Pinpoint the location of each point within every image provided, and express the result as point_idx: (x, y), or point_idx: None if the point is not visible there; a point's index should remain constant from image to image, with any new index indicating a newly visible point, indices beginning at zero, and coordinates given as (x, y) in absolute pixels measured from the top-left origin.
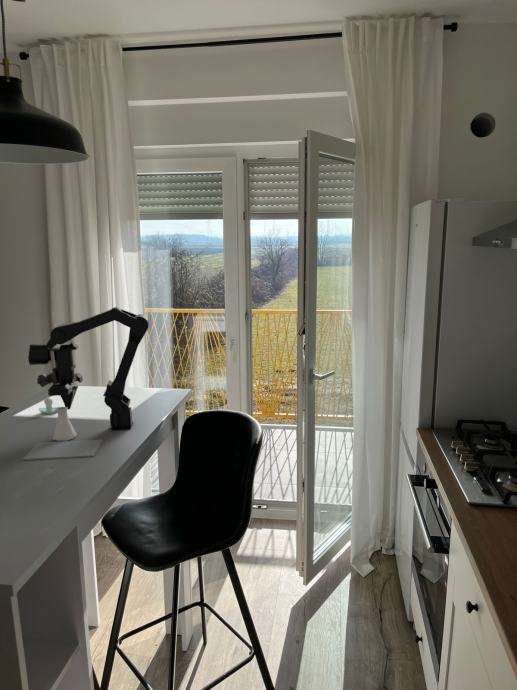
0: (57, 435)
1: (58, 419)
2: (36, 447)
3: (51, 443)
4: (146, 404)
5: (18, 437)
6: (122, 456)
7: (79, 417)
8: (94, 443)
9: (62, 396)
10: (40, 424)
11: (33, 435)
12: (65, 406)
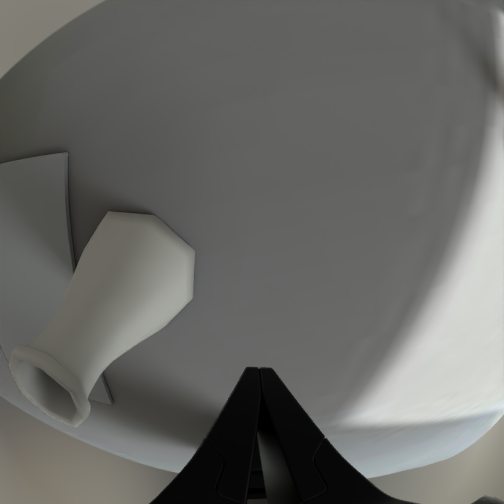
0: (82, 255)
1: (60, 306)
2: (19, 173)
3: (51, 228)
4: (443, 431)
5: (197, 6)
6: (36, 414)
7: (452, 278)
8: None
9: (173, 500)
10: (412, 84)
11: (211, 70)
12: (235, 387)
